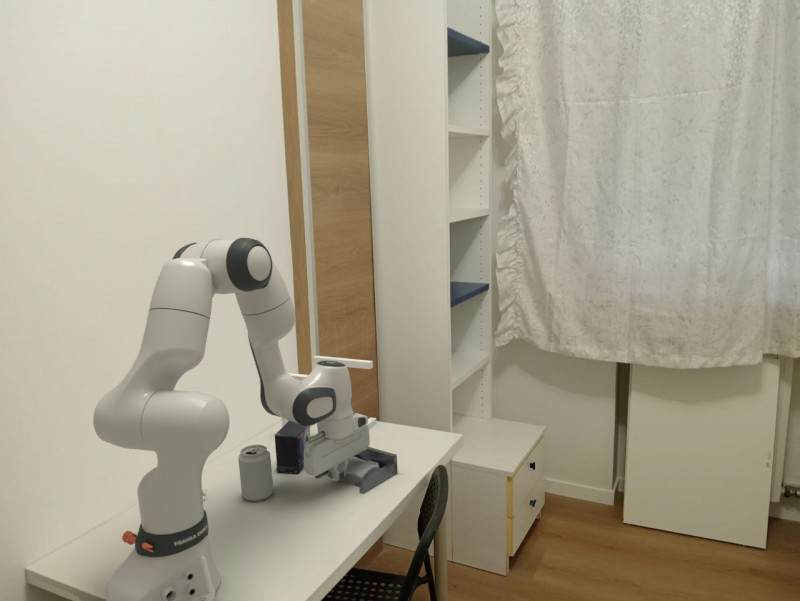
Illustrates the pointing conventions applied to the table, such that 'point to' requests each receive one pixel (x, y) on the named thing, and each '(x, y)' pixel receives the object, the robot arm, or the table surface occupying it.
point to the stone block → (357, 470)
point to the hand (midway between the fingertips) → (339, 478)
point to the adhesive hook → (204, 494)
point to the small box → (291, 447)
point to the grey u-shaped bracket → (385, 472)
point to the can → (255, 472)
